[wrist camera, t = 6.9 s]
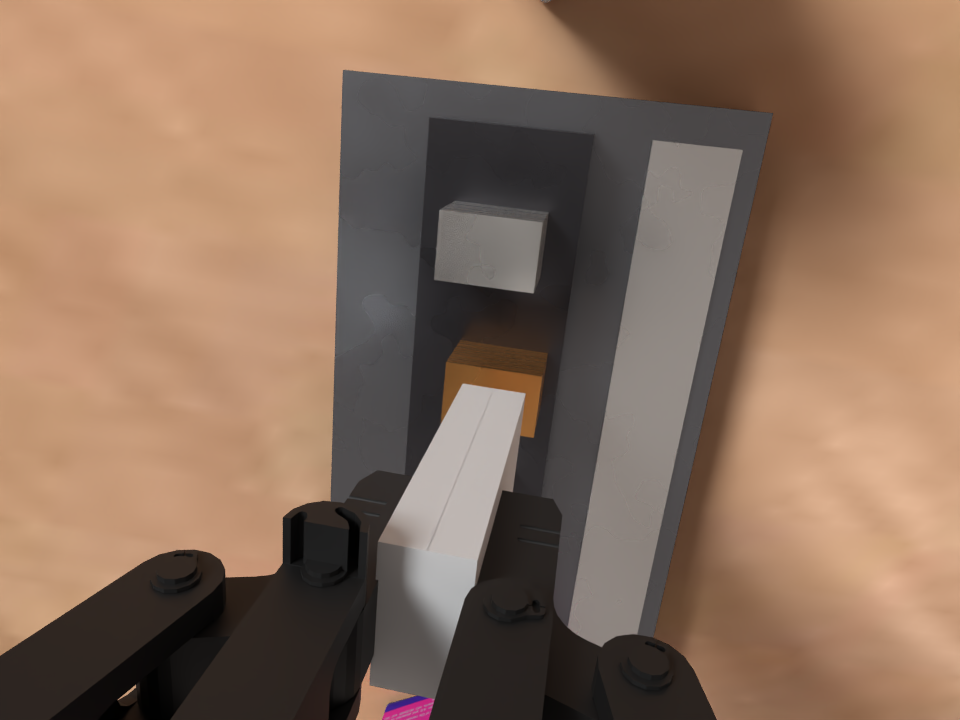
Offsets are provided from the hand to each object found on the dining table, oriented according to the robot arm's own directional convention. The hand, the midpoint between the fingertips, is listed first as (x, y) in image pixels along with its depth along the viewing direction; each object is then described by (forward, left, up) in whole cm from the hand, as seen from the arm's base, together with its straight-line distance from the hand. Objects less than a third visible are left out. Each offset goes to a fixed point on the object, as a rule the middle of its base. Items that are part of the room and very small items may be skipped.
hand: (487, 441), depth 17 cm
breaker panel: (-1, -1, -8) cm, 8 cm away
